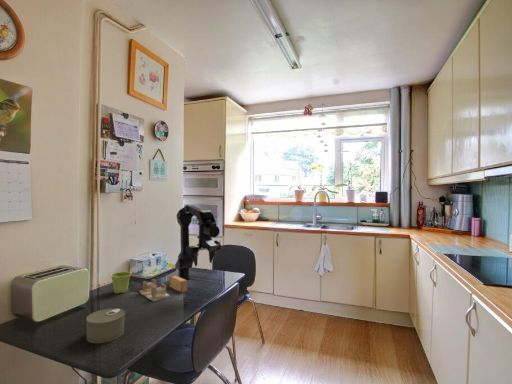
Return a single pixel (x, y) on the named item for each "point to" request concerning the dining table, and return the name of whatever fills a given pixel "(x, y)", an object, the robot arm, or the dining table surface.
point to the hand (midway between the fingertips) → (203, 264)
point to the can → (105, 325)
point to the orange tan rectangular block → (178, 283)
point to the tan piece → (154, 291)
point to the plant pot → (120, 281)
